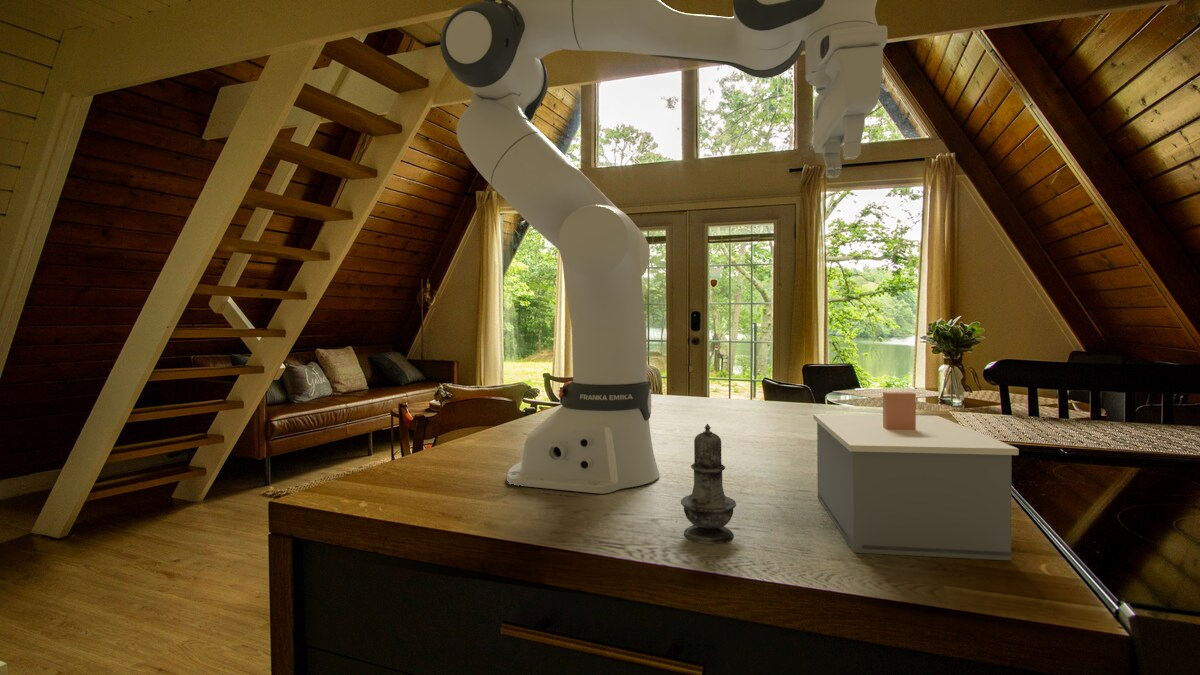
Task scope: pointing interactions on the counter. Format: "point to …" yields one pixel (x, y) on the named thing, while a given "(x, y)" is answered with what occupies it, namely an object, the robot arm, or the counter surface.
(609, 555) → the counter surface
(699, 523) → the salt shaker
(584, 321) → the robot arm
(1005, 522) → the box
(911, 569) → the counter surface
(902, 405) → the lid
